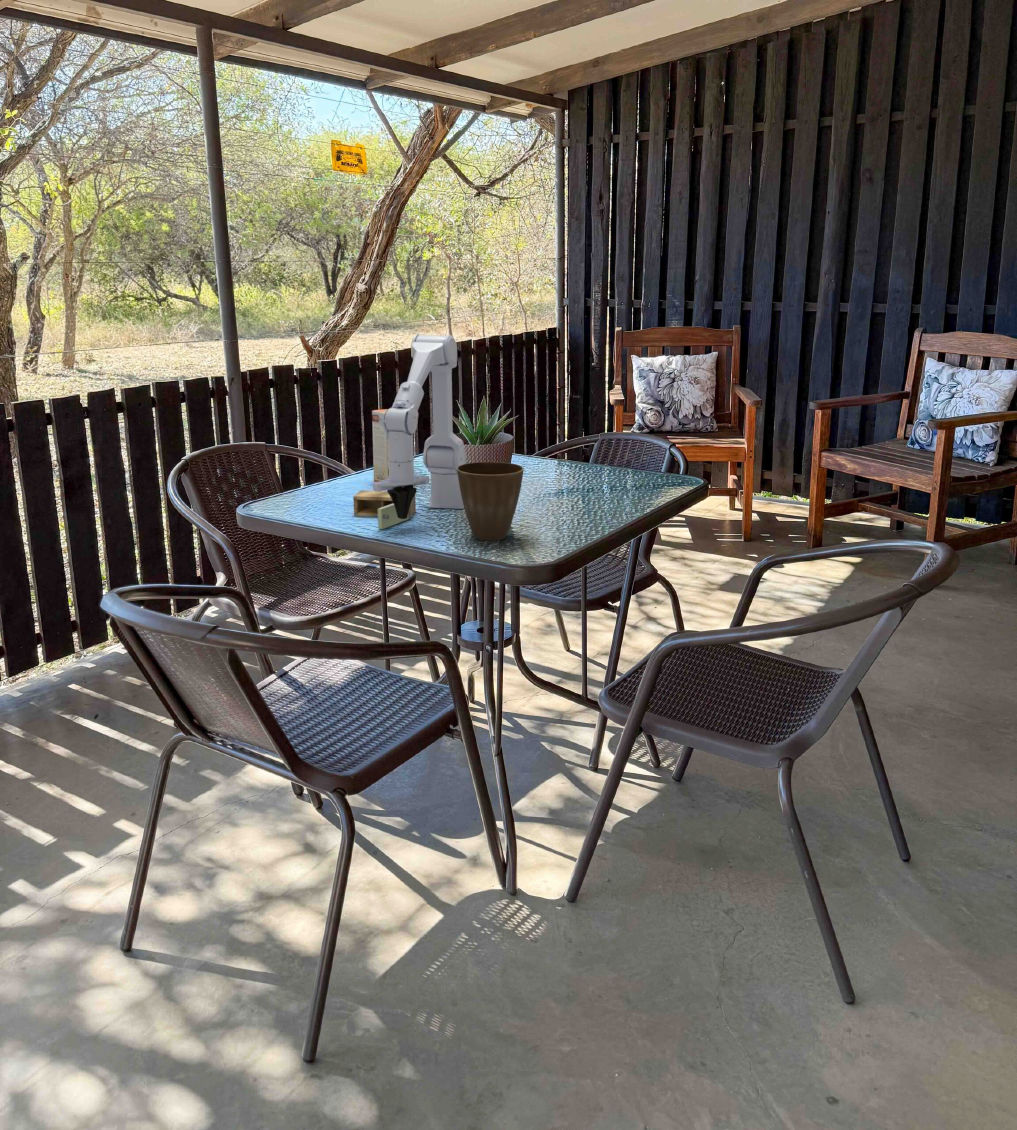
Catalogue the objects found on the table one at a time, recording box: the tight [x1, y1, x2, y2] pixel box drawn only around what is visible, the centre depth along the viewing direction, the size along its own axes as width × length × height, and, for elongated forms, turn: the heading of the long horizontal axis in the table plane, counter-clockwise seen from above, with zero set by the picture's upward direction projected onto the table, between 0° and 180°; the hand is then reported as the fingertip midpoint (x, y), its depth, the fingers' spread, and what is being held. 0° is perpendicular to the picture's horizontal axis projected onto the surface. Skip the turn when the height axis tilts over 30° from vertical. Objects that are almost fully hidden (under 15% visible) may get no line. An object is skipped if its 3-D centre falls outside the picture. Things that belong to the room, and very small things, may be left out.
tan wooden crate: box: [352, 489, 417, 518], centre depth 237 cm, size 14×7×5 cm, turn 83°
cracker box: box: [371, 408, 390, 483], centre depth 269 cm, size 14×6×21 cm, turn 34°
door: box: [377, 503, 412, 530], centre depth 227 cm, size 13×2×5 cm, turn 153°
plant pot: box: [457, 461, 525, 542], centre depth 215 cm, size 15×15×16 cm
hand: (402, 518), depth 223 cm, fingers closed
